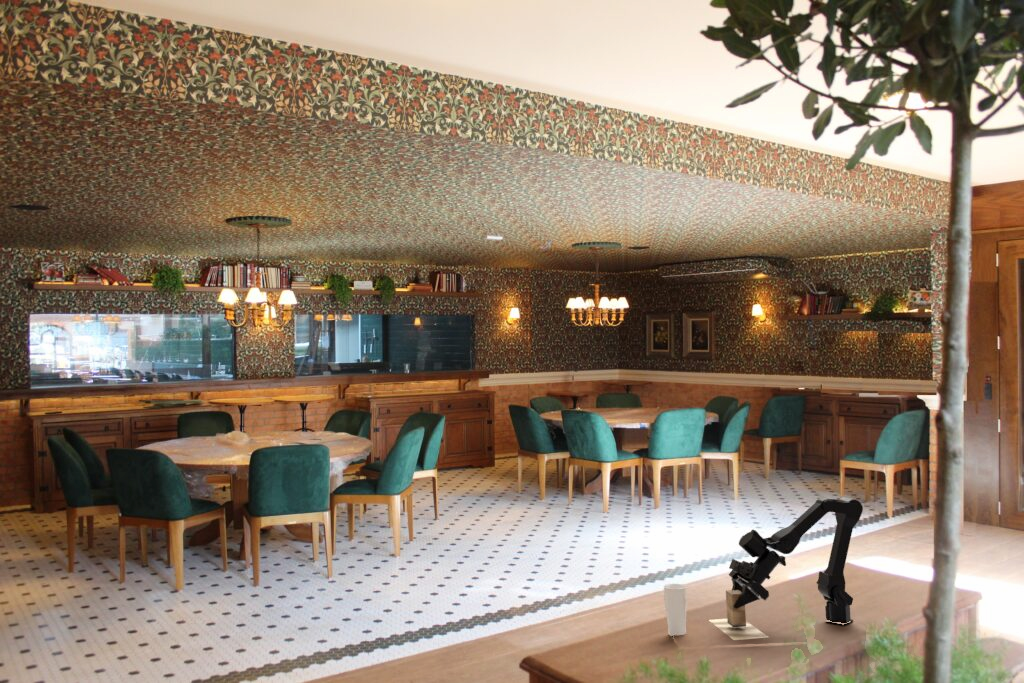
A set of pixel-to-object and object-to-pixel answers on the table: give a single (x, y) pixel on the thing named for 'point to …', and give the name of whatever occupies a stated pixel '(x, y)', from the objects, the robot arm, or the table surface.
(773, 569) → the robot arm
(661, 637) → the table surface
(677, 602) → the drinking glass
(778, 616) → the table surface
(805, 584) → the table surface
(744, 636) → the board
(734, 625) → the block
